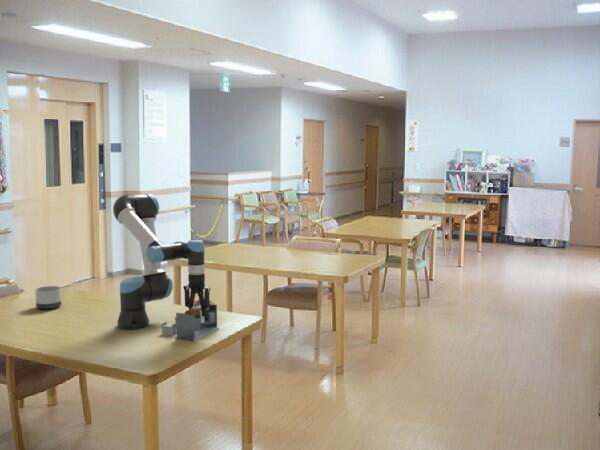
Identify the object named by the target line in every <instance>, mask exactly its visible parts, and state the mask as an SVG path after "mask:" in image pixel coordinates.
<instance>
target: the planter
mask: <svg viewBox="0 0 600 450" xmlns="http://www.w3.org/2000/svg"><path fill="white" fill-rule="evenodd" d="M61 288H62V287H60V286H57V285H52V286H51V285H49V286H41V287H36V288H35V290H34V292H35V307H36V308H38V309H41V310H53V309H52V308H54V309H57V308H58V307H60V306H61V305H62V289H61Z"/></svg>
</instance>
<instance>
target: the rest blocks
mask: <svg viewBox="0 0 600 450" xmlns="http://www.w3.org/2000/svg"><path fill="white" fill-rule="evenodd" d="M174 320H175V322H174V323H172V324H170V323H167V321H163V322H161V325H160V326H161V334H162V335H166V336H167V335H168V336H176V335H177V328H176V316H175V317H174Z"/></svg>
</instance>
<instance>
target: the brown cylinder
mask: <svg viewBox="0 0 600 450" xmlns="http://www.w3.org/2000/svg"><path fill="white" fill-rule="evenodd" d="M200 310H201V305H199V306H197V307H194V308H192V309H190V310H189V309H188V310H185V312H184V313H185V314H193V315H194V318H196V317H198V316H200ZM209 310H210V307H209V308H207V309H206V313H207V312H209Z"/></svg>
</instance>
